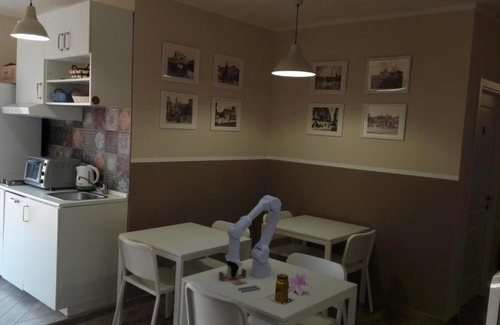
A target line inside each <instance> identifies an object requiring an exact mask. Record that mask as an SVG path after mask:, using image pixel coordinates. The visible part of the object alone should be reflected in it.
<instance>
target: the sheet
mask: <svg viewBox="0 0 500 325" xmlns="http://www.w3.org/2000/svg"><path fill="white" fill-rule="evenodd" d="M239 270H240V267H239V268H238V270H237V274H236V277H238V275H240V274H239V273H240V272H239ZM226 272H227V273H226V276H227V278H233V277H232V276H231V268H230V265H229V266H228V265H227V269H226Z"/></svg>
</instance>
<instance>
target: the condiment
mask: <svg viewBox="0 0 500 325" xmlns="http://www.w3.org/2000/svg"><path fill="white" fill-rule="evenodd" d="M288 278H289V275H288V274H286V273H279V274H277V276H276V281H275V288H274V289H275V291H274V298H273V299H271V301H272V302H275V301H276V302H275V303H278V302H279V303H278V304H281V305H287V304H288V303H290V302H293V300H295V298H290V297H289V291H290V290H289V285H290V284H289V281H288ZM288 300H289V301H288ZM282 303H283V304H282Z"/></svg>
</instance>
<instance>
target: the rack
mask: <svg viewBox="0 0 500 325" xmlns="http://www.w3.org/2000/svg"><path fill="white" fill-rule="evenodd" d="M218 272H219V274H218V279H219V281H220V282H230V281H234V280H238V279H243V280H245V279H247V269H245V268H241V274H239V275H238V277H233V278H227V275H226V276H225V274H224V272H223V271H218Z"/></svg>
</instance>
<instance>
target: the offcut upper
mask: <svg viewBox="0 0 500 325" xmlns="http://www.w3.org/2000/svg"><path fill="white" fill-rule="evenodd" d="M231 282H232V283H233V284H232V283H231V284H232V285H234V284H235V285H238V286H243V285H242V284H244V285H247V284H248V281H247V280H245V279H237V280H231ZM246 283H247V284H246ZM235 285H234V286H235Z"/></svg>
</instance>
